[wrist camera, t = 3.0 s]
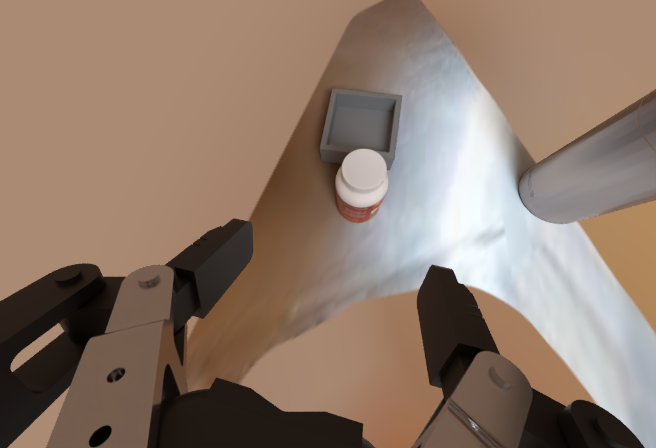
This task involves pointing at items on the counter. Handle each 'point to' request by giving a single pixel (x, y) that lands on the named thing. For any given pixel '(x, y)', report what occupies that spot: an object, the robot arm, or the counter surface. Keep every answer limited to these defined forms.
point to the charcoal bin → (360, 125)
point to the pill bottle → (361, 185)
